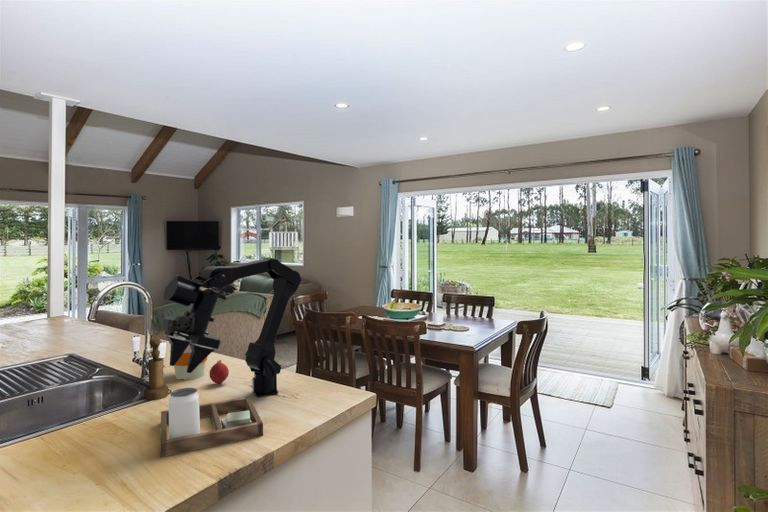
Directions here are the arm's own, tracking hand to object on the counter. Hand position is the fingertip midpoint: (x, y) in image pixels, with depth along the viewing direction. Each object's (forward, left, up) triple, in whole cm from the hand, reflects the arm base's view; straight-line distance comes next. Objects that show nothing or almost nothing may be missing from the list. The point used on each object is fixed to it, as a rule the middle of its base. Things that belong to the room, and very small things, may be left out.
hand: (179, 369), depth 109 cm
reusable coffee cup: (-4, -39, -14) cm, 41 cm away
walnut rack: (-6, +8, -14) cm, 17 cm away
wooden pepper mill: (+6, -23, -14) cm, 27 cm away
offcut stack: (-12, +13, -14) cm, 22 cm away
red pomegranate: (-12, -25, -14) cm, 31 cm away
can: (0, +13, -14) cm, 19 cm away
